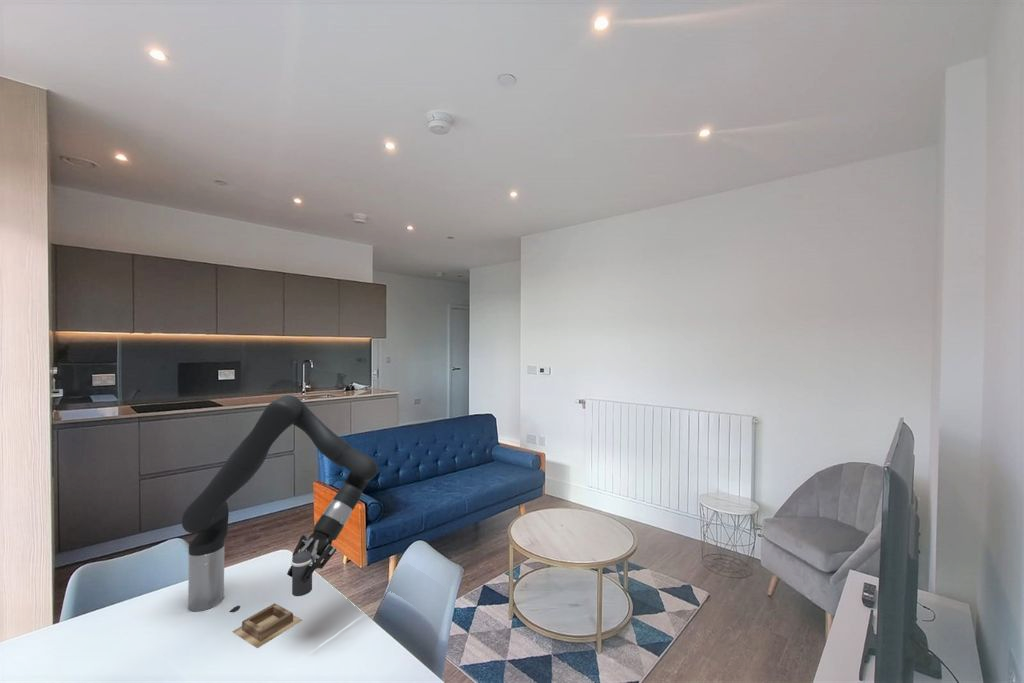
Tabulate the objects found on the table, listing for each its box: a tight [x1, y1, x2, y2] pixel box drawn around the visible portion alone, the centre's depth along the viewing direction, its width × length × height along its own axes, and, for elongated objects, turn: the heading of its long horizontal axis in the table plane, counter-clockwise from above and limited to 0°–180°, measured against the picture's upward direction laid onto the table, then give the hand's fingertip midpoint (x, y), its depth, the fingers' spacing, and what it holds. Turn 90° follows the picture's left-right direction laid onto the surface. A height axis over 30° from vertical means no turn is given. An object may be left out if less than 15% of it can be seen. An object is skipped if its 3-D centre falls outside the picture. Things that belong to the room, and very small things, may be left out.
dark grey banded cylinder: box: [291, 550, 313, 597], centre depth 115 cm, size 5×5×10 cm
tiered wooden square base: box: [231, 603, 303, 649], centre depth 119 cm, size 13×13×3 cm
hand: (296, 578), depth 113 cm, fingers closed on dark grey banded cylinder, 5 cm apart
